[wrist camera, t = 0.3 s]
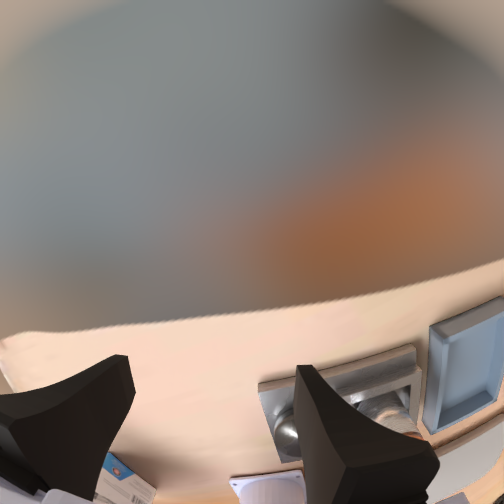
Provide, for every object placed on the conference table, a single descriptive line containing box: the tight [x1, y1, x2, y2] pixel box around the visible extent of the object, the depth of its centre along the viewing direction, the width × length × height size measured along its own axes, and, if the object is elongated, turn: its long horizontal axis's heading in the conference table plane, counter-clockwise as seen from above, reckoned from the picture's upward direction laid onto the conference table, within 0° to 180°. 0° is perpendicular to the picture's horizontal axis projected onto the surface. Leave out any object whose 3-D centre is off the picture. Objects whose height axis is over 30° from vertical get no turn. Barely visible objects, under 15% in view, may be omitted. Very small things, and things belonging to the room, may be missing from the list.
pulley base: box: [258, 343, 422, 463], centre depth 22 cm, size 10×13×3 cm
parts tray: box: [422, 296, 504, 435], centre depth 21 cm, size 12×9×2 cm
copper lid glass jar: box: [357, 391, 424, 440], centre depth 19 cm, size 4×4×6 cm
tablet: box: [426, 414, 504, 504], centre depth 26 cm, size 16×26×2 cm, turn 104°
